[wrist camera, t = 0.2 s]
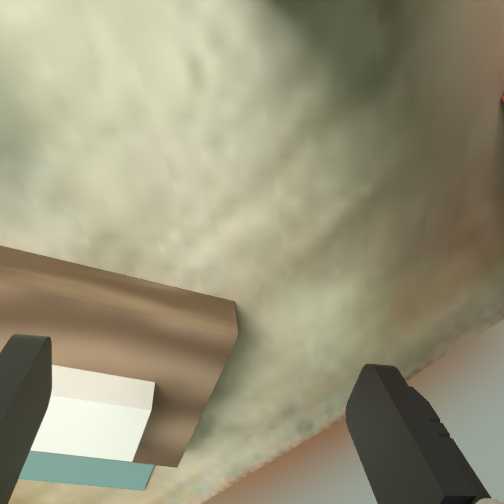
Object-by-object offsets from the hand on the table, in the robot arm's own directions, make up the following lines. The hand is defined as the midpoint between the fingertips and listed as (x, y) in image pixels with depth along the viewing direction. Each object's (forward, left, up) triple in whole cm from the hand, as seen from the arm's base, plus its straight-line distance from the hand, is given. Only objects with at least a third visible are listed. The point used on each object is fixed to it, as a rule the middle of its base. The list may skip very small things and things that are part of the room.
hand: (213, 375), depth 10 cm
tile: (+19, -3, -13) cm, 23 cm away
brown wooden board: (+18, -3, -18) cm, 26 cm away
